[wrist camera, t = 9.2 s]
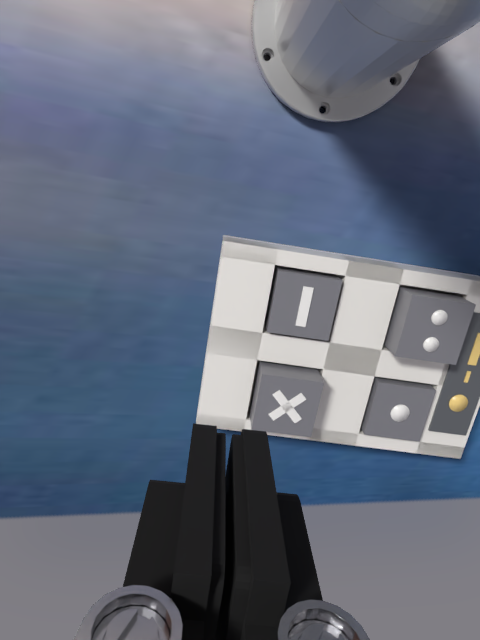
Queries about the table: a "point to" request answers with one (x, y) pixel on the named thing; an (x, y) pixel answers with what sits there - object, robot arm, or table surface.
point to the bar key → (302, 302)
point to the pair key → (428, 325)
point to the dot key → (397, 409)
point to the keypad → (335, 346)
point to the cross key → (285, 398)
